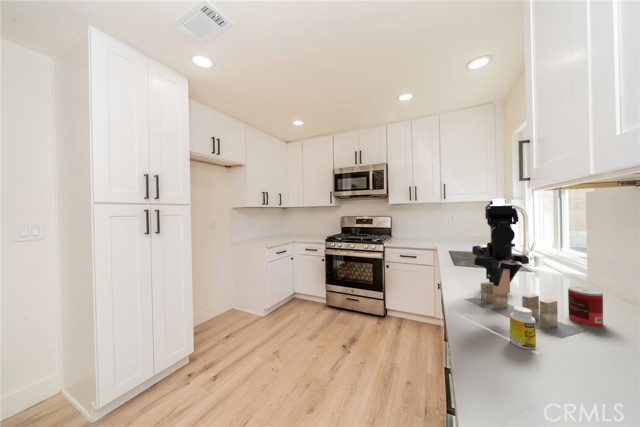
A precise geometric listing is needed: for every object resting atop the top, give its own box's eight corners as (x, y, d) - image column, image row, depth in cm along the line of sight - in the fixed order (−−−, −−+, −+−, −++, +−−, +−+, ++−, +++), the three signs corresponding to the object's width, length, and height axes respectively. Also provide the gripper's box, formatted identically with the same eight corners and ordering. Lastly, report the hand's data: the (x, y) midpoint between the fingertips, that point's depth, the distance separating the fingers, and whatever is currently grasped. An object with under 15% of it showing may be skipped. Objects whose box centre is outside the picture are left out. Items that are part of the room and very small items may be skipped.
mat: (484, 296, 101) (484, 295, 101) (585, 332, 71) (585, 331, 71) (463, 300, 98) (463, 299, 98) (560, 339, 67) (560, 338, 67)
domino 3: (493, 307, 89) (492, 286, 89) (502, 305, 91) (502, 285, 91) (498, 309, 87) (498, 288, 87) (507, 307, 89) (507, 287, 89)
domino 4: (522, 318, 80) (522, 295, 80) (532, 316, 81) (531, 293, 81) (529, 321, 78) (528, 297, 78) (539, 318, 79) (538, 295, 79)
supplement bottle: (525, 351, 62) (525, 314, 62) (505, 340, 67) (504, 306, 67) (541, 348, 63) (540, 312, 63) (519, 338, 69) (519, 304, 69)
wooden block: (539, 325, 75) (539, 300, 75) (549, 322, 76) (549, 298, 76) (547, 328, 73) (547, 303, 73) (557, 325, 75) (557, 301, 74)
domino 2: (493, 292, 80) (493, 269, 80) (503, 290, 81) (503, 268, 81) (499, 294, 78) (499, 270, 78) (510, 292, 79) (509, 269, 79)
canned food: (600, 321, 78) (600, 289, 78) (606, 330, 72) (605, 295, 72) (567, 315, 83) (566, 284, 83) (570, 323, 77) (569, 290, 77)
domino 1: (480, 302, 94) (480, 283, 94) (489, 300, 96) (489, 281, 96) (485, 304, 92) (485, 284, 92) (494, 302, 94) (494, 283, 94)
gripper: (496, 236, 90) (497, 276, 90) (459, 239, 84) (460, 281, 84) (529, 239, 79) (530, 284, 79) (490, 242, 74) (491, 291, 74)
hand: (501, 285), depth 80 cm, fingers closed on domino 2, 5 cm apart
